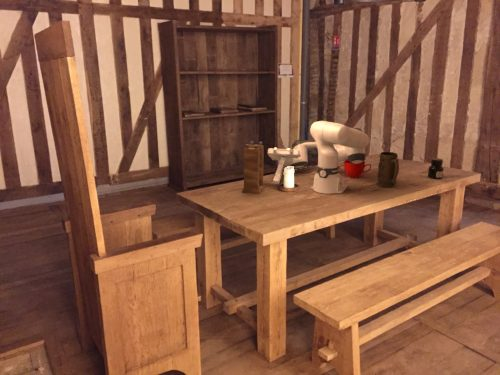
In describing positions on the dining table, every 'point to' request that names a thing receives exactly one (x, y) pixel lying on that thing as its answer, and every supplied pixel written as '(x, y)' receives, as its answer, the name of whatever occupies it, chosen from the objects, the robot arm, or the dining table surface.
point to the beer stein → (387, 170)
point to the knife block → (253, 168)
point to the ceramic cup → (354, 169)
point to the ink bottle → (436, 169)
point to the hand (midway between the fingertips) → (281, 148)
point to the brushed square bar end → (279, 170)
